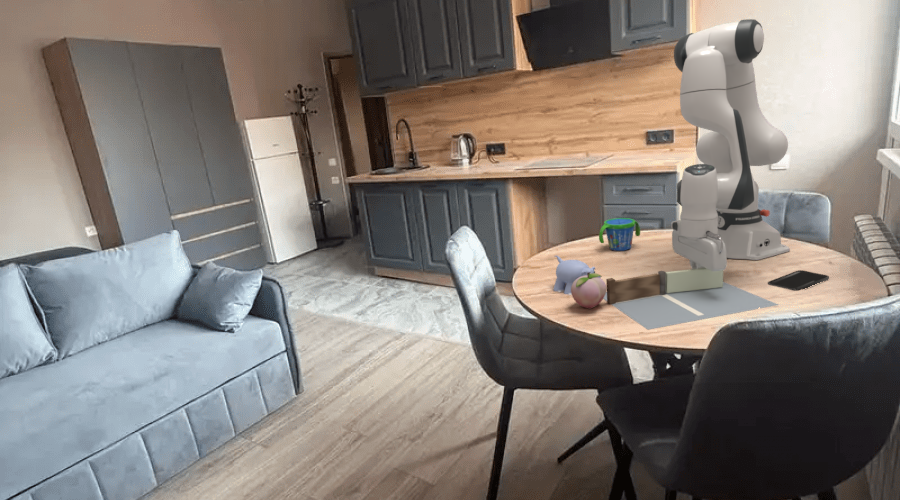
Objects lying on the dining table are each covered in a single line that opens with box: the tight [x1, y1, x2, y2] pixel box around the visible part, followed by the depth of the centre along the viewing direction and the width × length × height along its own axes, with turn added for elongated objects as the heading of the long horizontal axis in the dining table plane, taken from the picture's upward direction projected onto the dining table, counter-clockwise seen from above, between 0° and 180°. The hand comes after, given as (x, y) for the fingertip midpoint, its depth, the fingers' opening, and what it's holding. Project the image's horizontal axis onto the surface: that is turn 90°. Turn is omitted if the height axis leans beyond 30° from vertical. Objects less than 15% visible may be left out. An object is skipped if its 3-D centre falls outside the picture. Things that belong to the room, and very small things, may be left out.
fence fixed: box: [605, 270, 666, 305], centre depth 131 cm, size 16×2×7 cm, turn 100°
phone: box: [767, 270, 830, 292], centre depth 131 cm, size 8×1×15 cm
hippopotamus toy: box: [552, 255, 602, 296], centre depth 143 cm, size 11×15×10 cm
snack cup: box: [598, 217, 641, 252], centre depth 177 cm, size 16×10×10 cm
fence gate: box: [665, 268, 724, 293], centre depth 132 cm, size 15×1×6 cm, turn 91°
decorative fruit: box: [571, 272, 607, 309], centre depth 129 cm, size 9×8×10 cm
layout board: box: [603, 281, 779, 331], centre depth 128 cm, size 34×26×1 cm
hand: (697, 277), depth 134 cm, fingers closed
